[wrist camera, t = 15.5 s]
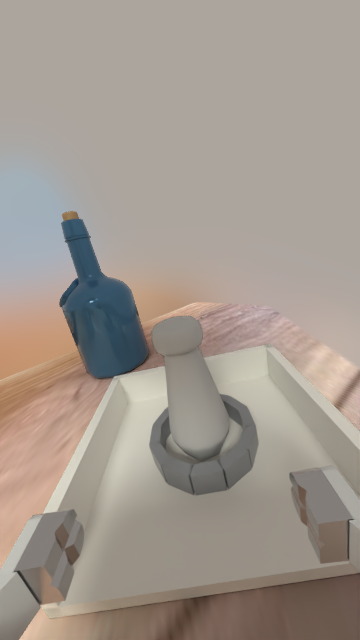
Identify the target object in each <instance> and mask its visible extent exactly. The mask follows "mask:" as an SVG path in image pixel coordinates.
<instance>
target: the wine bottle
mask: <svg viewBox="0 0 360 640" xmlns="http://www.w3.org/2000/svg"><path fill="white" fill-rule="evenodd" d="M62 217H63V219H64V221H63V222H62V223H61V224H62V229H63V233H64V237H65V239H66V240H65V242H66V243H67V244H68V247H69V250H70V253H71V257H72V259H73V263H74V266H75V269H76V272H77V275H78V278H77V279H75V280H74V281H73V282H72V284H71V285H70V287H69V288H68V289H67V290H66V291H65V293H64V294H63V295H62V297H61V299H60V303H59V305H60V307H62V310H63V313H64V315H65V318H66V320H67V323H68V326H69V328H70V331H71V333H72V336H73V338H74V341H75V343H76V346H77V348H78V351H79V354H80V356H81V359H82V361H83V364H84V366H85V369H86V371H87V373H88V374H89V375H90V376H93V377H96V378H98V379H100V378H109V377H114V376H118V375H120V374H123V373H126V372H129V371H131V370H133V369H134V368H136V367H137V366H139V365H140V364H142V363H143V362H144V361H145V359H146V358H147V356H148V354H149V349H148V345H147V342H146V339H145V335H144V332H143V328H142V325H141V322H140V318H139V315H138V311H137V308H136V305H135V301H134V298H133V295H132V292H131V290H130V288H129V287H128V286H127V285H126V284H125V283H124V282H122V281H120V280H117V279H114V278H110V277H107V276H105V275H104V274H103V273H102V272H101V269H100V266H99V264H98V261H97V258H96V256H95V253H94V250H93V247H92V245H91V242H90V238H91V237H90V236H89V234H88V231H87V229H86V227H85V225H84V222H83V220H82V219H79V217H78V214H77V212H73V211H70V212H65V213H63V214H62Z"/></svg>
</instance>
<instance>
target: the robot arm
mask: <svg viewBox="0 0 360 640" xmlns="http://www.w3.org/2000/svg"><path fill="white" fill-rule="evenodd" d="M289 477H290V481H291V483H292V485H293V486H292V488H291V495H292V499H293V503H294V506H295V508H296V511H297V513H298V516H299V518H300V520H301V522H302V523H304V524H305V525H306V526H307V528H308V538H309V540H310V542H311V544H312V546H313V549H314V551H315V553H316V555H317V557H318V559H319V561H320V564H323V563H332V562H341V561H349V563H350V564H351V565H352V566H353V567H354V568H355V569H356V570H357V571H358V572H359V573H360V499H359V498H358V496H357V495H356V494H355V492H354V491H353V490H352V488H351V487H350V486H349V484H348V483H347V482H346V480H345V479H344V477H343V476H342V475H341V473H340V472H339V471H338V469H337V468H336V467H334V466H333V465H329V466H324V467H319V468H317V467H316V468H310V469H305V470H300V471H294V472H290V474H289ZM76 517H77V514H76V512H75V510H74V509H71V510H64V511H57V512H51V513H43V514H37V515H33V516H32V517H31V518H30V519H29V520H28V522H27V523H26V525H25V527H24V529H23V530H22V532H21V534H20V536H19V538H18V539H17V541H16V543H15V545H14V546H13V548H12V550H11V552H10V554H9V555H8V557H7V559H6V561H5V562H4V564H3V566H2V568H1V570H0V640H19V639H20V637H21V636H22V634H23V633H24V631H25V630H26V628H27V627H28V625H29V624H30V622H31V621H32V619H33V618H34V616H35V615H36V613H37V612H38V610H39V609H40V607H41V606H40V605H44V604H50V603H55V602H61V601H65V600H66V597H67V594H68V591H69V588H70V585H71V581H72V578H73V575H74V568H73V564H74V563H75V561H76V560H77V559H78V558H79V556H80V554H81V550H82V547H83V542H84V529H83V526H82V524H81V523H80V522H79V521H77V520H75V519H76Z"/></svg>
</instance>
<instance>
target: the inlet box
mask: <svg viewBox="0 0 360 640" xmlns="http://www.w3.org/2000/svg"><path fill="white" fill-rule="evenodd" d="M204 360H205V362H206V364H207V367H208V369H209V371H210V374H211V376H212V378H213V380H214V383H215V385H216V387H217V390H218V392H219V394H220V396H221V399H222V401H223V403H224V405H225V408H226V410H227V412H228V415H229V433H228V435H227V437H226V439H225V441H224V443H223V445H222V448H221V451H220V454H219V455H217V456H214V457H211V458H209V459H206V460H204V461H199V460H197V459H195V458H193V457H191V456H189V455H187V454H186V453H185V452H184V451H183V450H182V449H181V448H180V447H179V446H178V445H177V444H176V443H175V442H174V441H173V439H172V435H171V431H170V425H169V411H168V397H167V383H166V372H165V366H162V367H157V368H152V369H147V370H143V371H138V372H133V373H128V374H123V375H119V376H114V378H113V380H112V381H111V383H110V385H109V387H108V389H107V391H106V393H105V395H104V397H103V399H102V401H101V403H100V405H99V406H98V408H97V410H96V412H95V414H94V416H93V418H92V420H91V422H90V424H89V426H88V428H87V429H86V431H85V433H84V435H83V437H82V439H81V441H80V443H79V445H78V447H77V449H76V451H75V453H74V454H73V456H72V458H71V460H70V462H69V464H68V466H67V468H66V470H65V472H64V474H63V476H62V477H61V479H60V481H59V483H58V485H57V487H56V489H55V491H54V493H53V495H52V497H51V499H50V501H49V502H48V504H47V506H46V508H45V510H44V512H43V513H51V512H57V511H64V510H71V509H74V510H75V512H76V514H77V517H76V519H75V520H77V521H79V522H80V523H81V524H82V526H83V529H84V542H83V547H82V550H81V554H80V556H79V558H78V559H77V560H76V561H75V563H74V564H73V568H74V575H73V578H72V581H71V585H70V588H69V591H68V594H67V597H66V600H65V601H61V602H55V603H50V604H44V605H40V606H41V607H42V608H43V610H44V611H45V613H46V614H47V616H48V617H49V619H51V618H58V617H65V616H71V615H78V614H85V613H92V612H98V611H105V610H112V609H119V608H126V607H132V606H139V605H146V604H153V603H160V602H166V601H173V600H180V599H187V598H193V597H200V596H207V595H214V594H221V593H227V592H234V591H241V590H248V589H255V588H261V587H268V586H275V585H282V584H288V583H295V582H302V581H309V580H316V579H322V578H329V577H336V576H343V575H350V574H356V573H359V572H358V571H357V570H356V569H355V568H354V567H353V566H352V565H351V564H350V563H349V561H341V562H332V563H323V564H320V561H319V559H318V557H317V555H316V553H315V551H314V549H313V546H312V544H311V542H310V540H309V538H308V528H307V526H306V525H305V524H304V523H302V522H301V520H300V518H299V516H298V513H297V511H296V508H295V506H294V503H293V499H292V495H291V488H292V486H293V485H292V483H291V481H290V477H289V474H290V472H294V471H300V470H305V469H310V468H316V467H317V468H319V467H324V466H329V465H333V466H334V467H336V468H337V469H338V471H339V472H340V473H341V475H342V476H343V477H344V479H345V480H346V482H347V483H348V484H349V486H350V487H351V488H352V490H353V491H354V492H355V494H356V495H357V496H358V498H359V499H360V431H359V430H358V429H357V428H356V427H355V426H354V425H353V424H352V423H351V422H350V421H349V420H348V419H347V418H346V417H345V416H344V415H343V414H342V413H341V412H340V411H339V410H338V409H337V408H336V407H335V406H334V405H332V404H331V403H330V402H329V401H328V400H327V399H326V398H325V397H324V396H323V395H322V394H321V393H320V392H319V391H318V390H317V389H316V388H315V387H314V386H313V385H312V384H311V383H310V382H309V381H308V380H307V379H306V378H305V377H304V376H303V375H302V374H301V373H300V372H299V371H298V370H297V369H296V368H295V367H294V366H293V365H292V364H291V363H290V362H289V361H288V360H287V359H286V358H285V357H284V356H283V355H282V354H281V353H280V352H279V351H278V350H277V349H276V348H275V347H274V346H273V345H272V344H266V345H261V346H257V347H252V348H247V349H242V350H238V351H233V352H228V353H223V354H219V355H214V356H209V357H204Z"/></svg>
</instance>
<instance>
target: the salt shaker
mask: <svg viewBox="0 0 360 640" xmlns="http://www.w3.org/2000/svg"><path fill="white" fill-rule="evenodd" d="M151 334H152V341H153V345H154V348H155V350H156V352H157V353H158V354H161V355H164V363H165V372H166V383H167V397H168V411H169V425H170V431H171V435H172V439H173V441H174V442H175V443H176V444H177V445H178V446H179V447H180V448H181V449H182V450H183V451H184V452H185V453H186V454H187V455H189V456H191V457H193V458H195V459H197V460H199V461H204V460H206V459H209V458H211V457H214V456H217V455H219V454H220V451H221V448H222V445H223V443H224V441H225V439H226V437H227V435H228V433H229V415H228V412H227V410H226V408H225V405H224V403H223V401H222V399H221V396H220V394H219V392H218V390H217V387H216V385H215V383H214V380H213V378H212V376H211V374H210V371H209V369H208V367H207V364H206V362H205V360H204V358H203V355H202V353H201V351H200V348H199V345H200V344H201V342H202V339H203V332H202V327H201V325H200V323H199V321H198V320H196V319H195V318H193V317H191V316H177V317H172V318H169V319H166V320H164V321H162V322H160V323H158V324H156V325H155V327H154V328H153V330H152V332H151Z"/></svg>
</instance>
